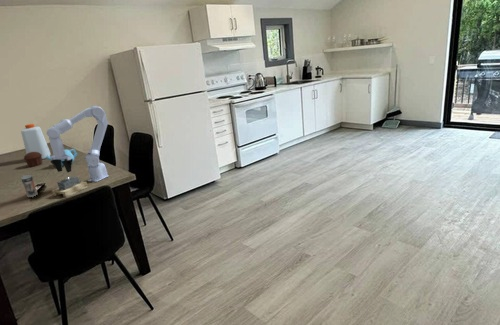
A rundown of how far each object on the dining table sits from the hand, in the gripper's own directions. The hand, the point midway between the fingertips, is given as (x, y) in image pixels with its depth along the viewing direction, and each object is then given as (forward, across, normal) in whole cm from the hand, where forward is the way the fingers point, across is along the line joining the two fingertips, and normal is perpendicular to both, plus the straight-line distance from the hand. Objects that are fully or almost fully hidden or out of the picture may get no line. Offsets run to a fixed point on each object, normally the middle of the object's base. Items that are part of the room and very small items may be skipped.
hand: (64, 171), depth 181 cm
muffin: (+10, -76, +30) cm, 82 cm away
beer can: (+10, -10, -15) cm, 20 cm away
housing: (+6, +8, -5) cm, 11 cm away
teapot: (+10, -49, +34) cm, 60 cm away
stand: (+9, +8, -5) cm, 13 cm away
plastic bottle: (+10, -93, +45) cm, 104 cm away
